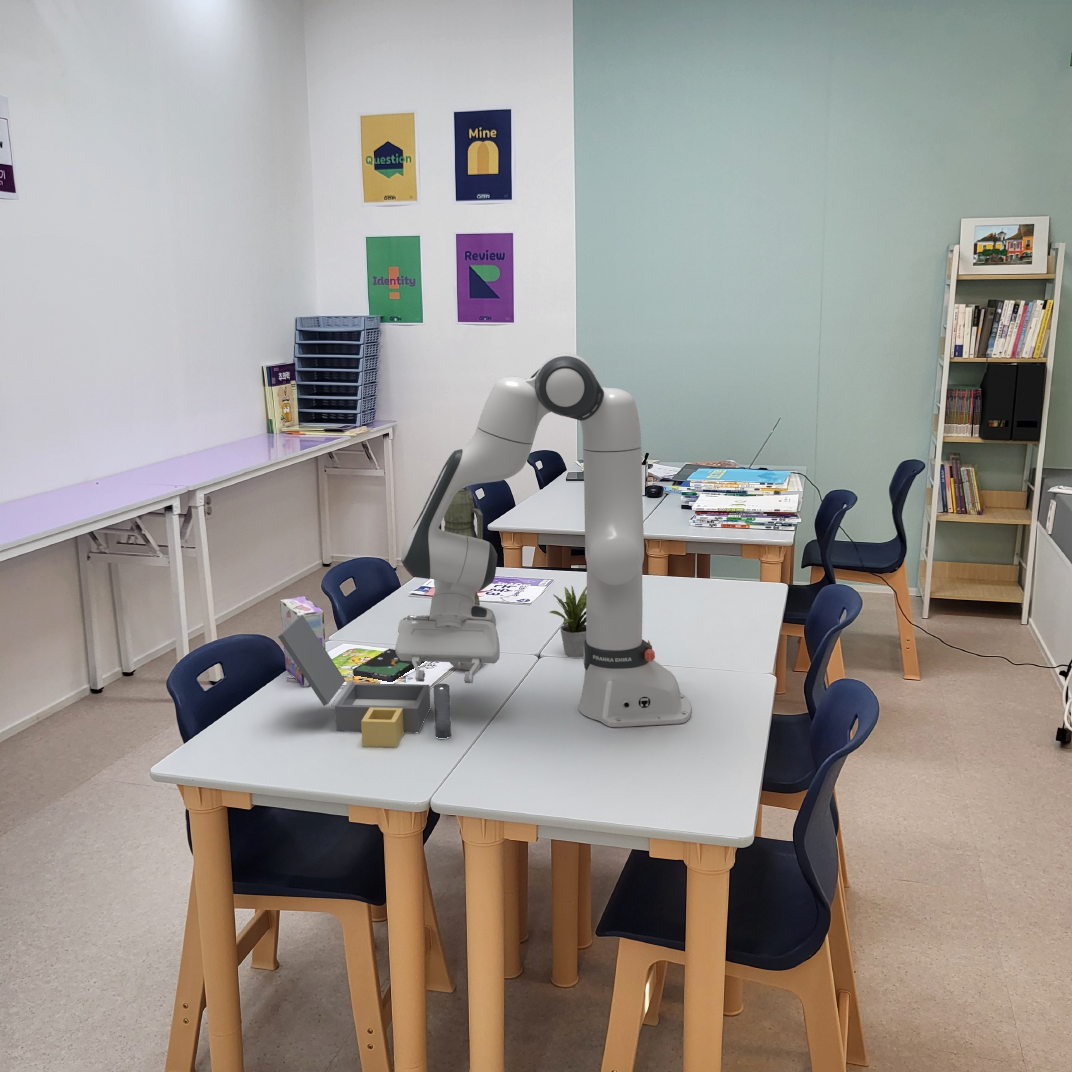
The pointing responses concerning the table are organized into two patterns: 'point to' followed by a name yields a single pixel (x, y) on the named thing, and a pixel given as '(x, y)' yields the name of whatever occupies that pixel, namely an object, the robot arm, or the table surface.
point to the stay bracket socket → (382, 727)
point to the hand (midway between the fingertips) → (443, 681)
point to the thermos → (464, 518)
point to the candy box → (314, 618)
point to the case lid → (312, 659)
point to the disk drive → (384, 667)
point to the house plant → (573, 623)
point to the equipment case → (381, 703)
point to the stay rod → (442, 710)
